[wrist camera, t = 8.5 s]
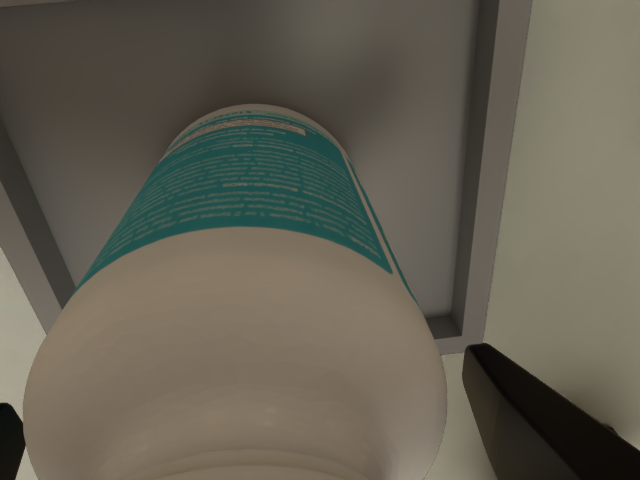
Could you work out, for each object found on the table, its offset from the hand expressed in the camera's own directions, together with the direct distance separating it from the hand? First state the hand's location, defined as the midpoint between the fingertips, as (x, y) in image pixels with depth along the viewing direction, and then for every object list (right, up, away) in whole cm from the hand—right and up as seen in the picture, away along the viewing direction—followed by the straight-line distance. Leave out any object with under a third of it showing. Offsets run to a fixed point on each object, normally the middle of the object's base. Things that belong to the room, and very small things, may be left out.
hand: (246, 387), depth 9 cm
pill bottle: (-1, +5, +8) cm, 9 cm away
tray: (-1, +5, +8) cm, 10 cm away
